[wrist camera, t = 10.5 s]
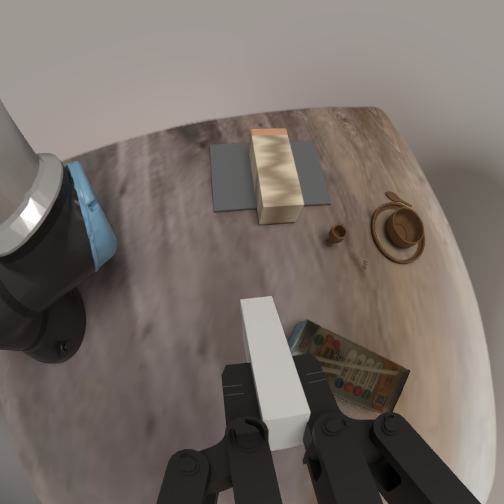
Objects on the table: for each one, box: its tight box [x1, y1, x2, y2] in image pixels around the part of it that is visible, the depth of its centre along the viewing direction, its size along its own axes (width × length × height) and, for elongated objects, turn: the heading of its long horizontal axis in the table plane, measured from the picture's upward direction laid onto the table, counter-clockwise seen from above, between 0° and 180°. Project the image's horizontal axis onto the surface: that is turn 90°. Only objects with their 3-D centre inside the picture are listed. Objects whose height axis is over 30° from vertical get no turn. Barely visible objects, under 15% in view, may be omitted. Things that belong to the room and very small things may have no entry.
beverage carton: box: [288, 320, 410, 414], centre depth 37 cm, size 8×19×7 cm, turn 61°
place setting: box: [326, 192, 425, 269], centre depth 46 cm, size 18×20×6 cm
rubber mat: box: [210, 141, 331, 213], centre depth 49 cm, size 20×14×1 cm
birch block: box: [249, 129, 304, 225], centre depth 45 cm, size 6×6×15 cm
